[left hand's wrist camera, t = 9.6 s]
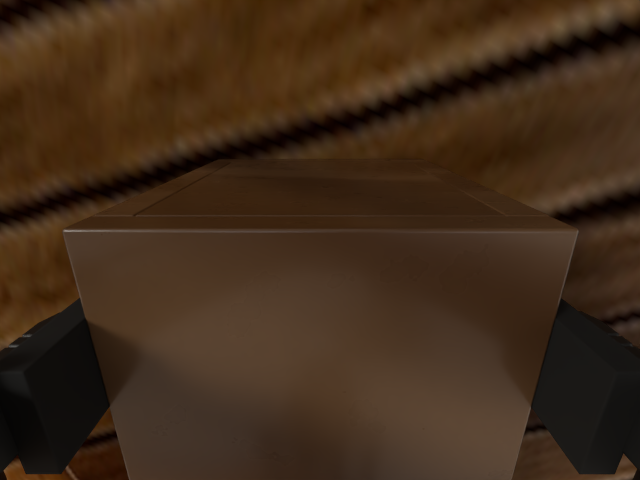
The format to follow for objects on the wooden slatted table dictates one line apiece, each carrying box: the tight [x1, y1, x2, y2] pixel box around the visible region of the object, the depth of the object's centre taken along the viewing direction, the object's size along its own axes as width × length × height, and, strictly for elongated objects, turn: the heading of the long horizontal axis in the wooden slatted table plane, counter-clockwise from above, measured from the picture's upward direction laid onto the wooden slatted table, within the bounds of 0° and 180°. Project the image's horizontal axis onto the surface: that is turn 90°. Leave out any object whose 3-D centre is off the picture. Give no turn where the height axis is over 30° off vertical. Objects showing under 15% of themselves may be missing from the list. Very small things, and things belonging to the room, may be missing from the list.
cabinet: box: [62, 159, 579, 480], centre depth 16 cm, size 17×11×12 cm, turn 0°
